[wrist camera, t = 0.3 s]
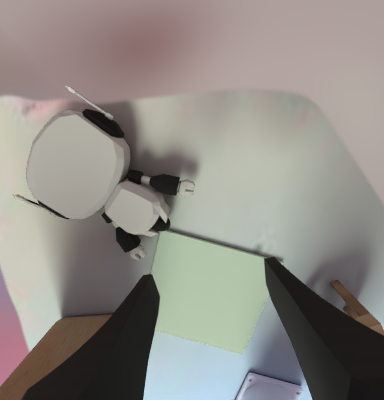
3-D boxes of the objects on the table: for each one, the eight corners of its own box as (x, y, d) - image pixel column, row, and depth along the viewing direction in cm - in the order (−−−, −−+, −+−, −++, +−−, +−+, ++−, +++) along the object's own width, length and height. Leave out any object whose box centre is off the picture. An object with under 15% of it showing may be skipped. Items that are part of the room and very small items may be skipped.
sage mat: (242, 351, 27) (242, 354, 27) (139, 323, 27) (138, 326, 27) (282, 261, 23) (283, 263, 23) (161, 228, 23) (160, 229, 23)
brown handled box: (351, 310, 24) (397, 361, 18) (312, 324, 25) (344, 377, 19) (337, 280, 23) (380, 323, 17) (297, 295, 24) (325, 342, 18)
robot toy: (202, 178, 22) (85, 90, 20) (204, 187, 18) (55, 77, 15) (144, 252, 25) (37, 184, 23) (134, 275, 21) (0, 195, 18)
